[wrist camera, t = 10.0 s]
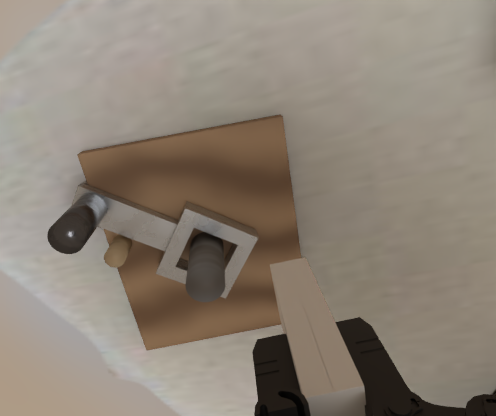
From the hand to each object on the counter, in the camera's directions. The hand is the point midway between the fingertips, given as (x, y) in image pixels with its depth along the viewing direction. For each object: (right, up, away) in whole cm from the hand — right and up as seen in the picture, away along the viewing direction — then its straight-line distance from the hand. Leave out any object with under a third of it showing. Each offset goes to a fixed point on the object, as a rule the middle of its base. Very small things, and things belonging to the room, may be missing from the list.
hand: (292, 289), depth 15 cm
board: (-6, 0, +22) cm, 23 cm away
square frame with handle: (-10, +1, +20) cm, 22 cm away
